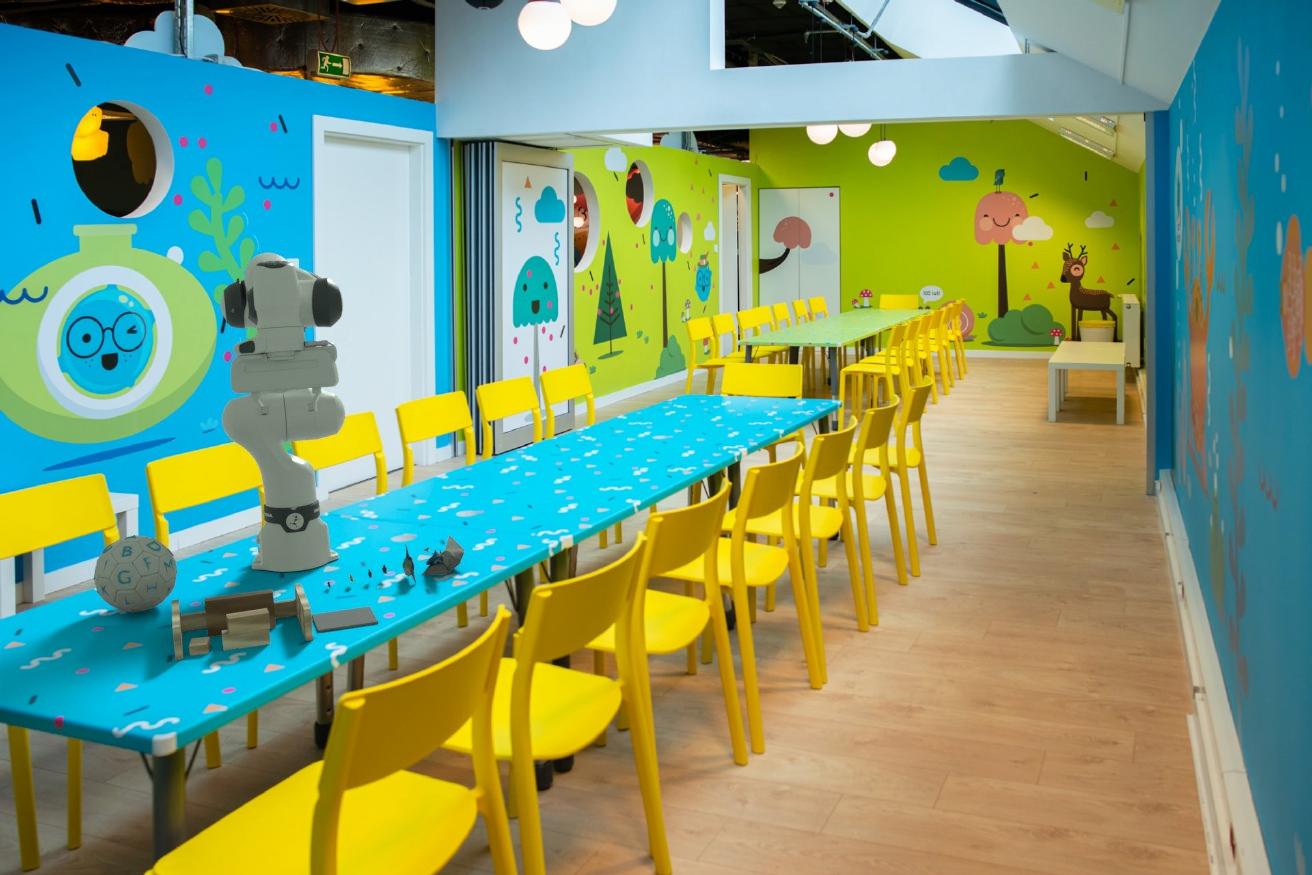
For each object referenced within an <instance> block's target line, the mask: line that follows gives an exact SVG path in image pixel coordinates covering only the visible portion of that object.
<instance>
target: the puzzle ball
mask: <svg viewBox="0 0 1312 875" xmlns="http://www.w3.org/2000/svg"><path fill="white" fill-rule="evenodd" d="M174 557H175V555H174V554H173V553H172V551H171V549H169V548H168V547H167V546H166V545H165V544H164V543H163V542H162V541H159V540H158V539H156V538H153V537H149V536H147V535H146V536H144V535H135V534H134V535H129V536H125V537H122V538H120V539H117V540H115V541H114V542H111V543H109V544H108V545H107V546H106V547H105V548H104V549H103V550H102V552H101V553H100V555H99V556H98V558H97V560H96V564H95V568H94V575H93V581H94V586H95V589H96V593H97V594H98V595H99V596H100V597H101V599H102V600H103V601H104V602H105V603H106V604H108V605H109V606H111V607H113V608H115V609H118V610H121V611H123V612H128V613H140V612H145V611H148V610H152V609H154V608H156V607H157V606H159V605H160V604H162V603H163V602H165V600H166V599H167V598H168V597H169V596H170V595H171V593H172V592H173V590H174V588H175V586H176V581H177V574H178V567H177V563H176V562H177V561H176V558H174Z"/></svg>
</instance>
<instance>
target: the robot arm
mask: <svg viewBox="0 0 1312 875" xmlns="http://www.w3.org/2000/svg"><path fill="white" fill-rule="evenodd" d="M343 300H344V299H343V296H342V292H341V290H340V287H339V285H337V284H336V283H335V282H334V281H333V280H332V279H330V278H329V277H323V278H322V277H321V276H319V275H317V274H315V273H313V272H310V271H308V270H304V269H303V268H301V267H297V266H296V265H294V263H292V262H290V261H288V260H287V259H286V258H284V257H283V256H281V255H279V254H277V253H274V252H264V253H260V254H257V255H255V256H254V257H253V258H252V259H250V261H249V262H248V264H247V266H246V267H245V270H244V274H243V279H241V280H240V277H238V278H236V280H235V282H233V283H230V284H229V285H228V286H227V287H226V288H224V289H223V294H222V295H221V298H220V310H221V313H222V314H221V315H222V317H224V319H225V321H226V323H227V324H228V326H230V327H231V328H234V329H236V328H237V329H242V330H243V329H246V328H251V329H256V336H253V337H251V338H248V339H246V340H243V341H241V342H238V343H235V344H234V345H233V348H232V350H233V353H234V354H235V355H236V357H234V358H233V360H232V361H231V364H230V365H231V366H230V386H231V390H232V391H233V392H234V393H235V394H237V395H238V394H247V395H244V396H239V397H236V398H232V399H230V400H229V401H228V402H227V403H226V405H225V406H224V409H223V412H222V414H221V422H222V428H223V430H224V432H225V434H226V436H227V437H228V438H229V439H230V440H231V441H232V442H233V443H236V444H237V445H238V446H241V447H242V448H243V449H244V450H246V451H247V452H248V454H249V455H250V456H252V458H253V460H254V461H255V462H256V464H257V466H258V469H259V471H260V475H261V481H262V486H263V487H262V488H263V494H264V505H263V511H262V514H263V520H264V521H265V523H264V526H263V527H261V528H260V530H259V532H258V533H257V534H256V535H255V537H256V538H255V539H256V544H257V545H259V547H257V550H258V551H257V554H256V556H255V557H254V559H253V561H252V564H251V569H252V570H265V571H270V572H277V573H278V572H280V573H281V572H282V573H283V572H285V573H286V572H287V573H288V572H297V571H298V572H299V571H304V570H305V571H307V570H311V569H315V568H318V567H320V566H324V565H326V564H328V563H330V562H333V561H335V560H338V559H340V556H339V553H338V552H336V551H335V550H333V549H331V545H330V544H331V543H330V535H329V527H328V524H327V523H326V522H325V521H324V520H322V519H321V518H320V515H321V505H320V500H319V499H318V498H317V485H316V471H315V469H314V466H313V465H312V464H311V462H309V461H308V460H307V459H305V458H302V457H300V456H297V455H294V454H292V453H289V452H287V450H285V449H284V447H283V445H284V444H285V443H289V442H300V441H313V440H314V441H315V440H319V439H324V438H328V437H331V436H335V435H337V434H338V433H339V432H340V431H341V430H342V428H343V426H344V423H345V419H346V410H345V405H344V404H343V402H342V400H341V399H340V398H339V396H338V395H336V393H334V392H332V391H329V390H326V389H324V388H333V387H336V386H338V384H339V381H340V380H339V371H338V368H337V363H336V361H337V359H338V351H337V347H336V345H335V344H334V343H333V342H330V341H329V340H324V339H323V340H318V341H317V340H315V341H314V340H311V341H309V340H308V341H306V338H305V336H306V335H305V333H306V329H307V328H312V327H313V328H314V327H318V328H332V327H333V326H334V325H336V323H337V322H338V321H339V320H340V319H341V318H342V315H343V311H344V301H343Z"/></svg>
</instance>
